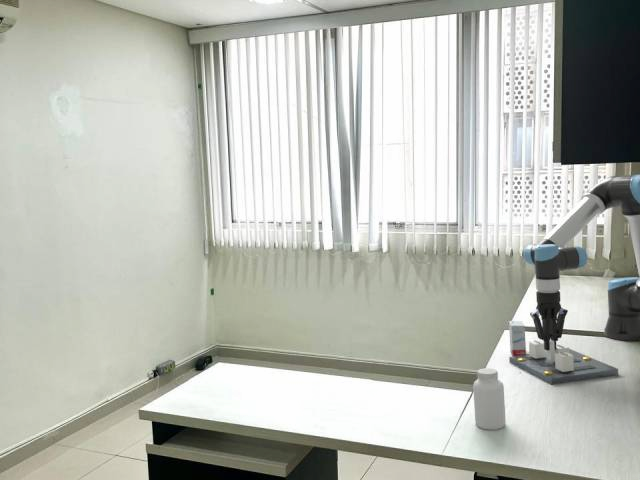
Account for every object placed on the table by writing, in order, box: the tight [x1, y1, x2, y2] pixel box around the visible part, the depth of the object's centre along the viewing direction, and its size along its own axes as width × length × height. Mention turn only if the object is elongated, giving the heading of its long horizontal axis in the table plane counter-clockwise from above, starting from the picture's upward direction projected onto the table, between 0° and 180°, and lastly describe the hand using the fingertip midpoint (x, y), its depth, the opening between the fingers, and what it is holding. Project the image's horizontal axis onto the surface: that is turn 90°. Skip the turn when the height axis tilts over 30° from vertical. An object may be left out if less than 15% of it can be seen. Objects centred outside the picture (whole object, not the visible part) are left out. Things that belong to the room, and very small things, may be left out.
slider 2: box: [553, 343, 570, 361], centre depth 205 cm, size 4×4×5 cm
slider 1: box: [528, 339, 546, 359], centre depth 212 cm, size 4×4×5 cm
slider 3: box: [555, 352, 574, 372], centre depth 196 cm, size 4×4×5 cm
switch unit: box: [508, 349, 619, 386], centre depth 205 cm, size 24×26×2 cm
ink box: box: [508, 320, 527, 357], centre depth 224 cm, size 9×5×12 cm, turn 168°
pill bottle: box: [472, 367, 506, 431], centre depth 163 cm, size 8×8×15 cm
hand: (550, 359), depth 204 cm, fingers closed
